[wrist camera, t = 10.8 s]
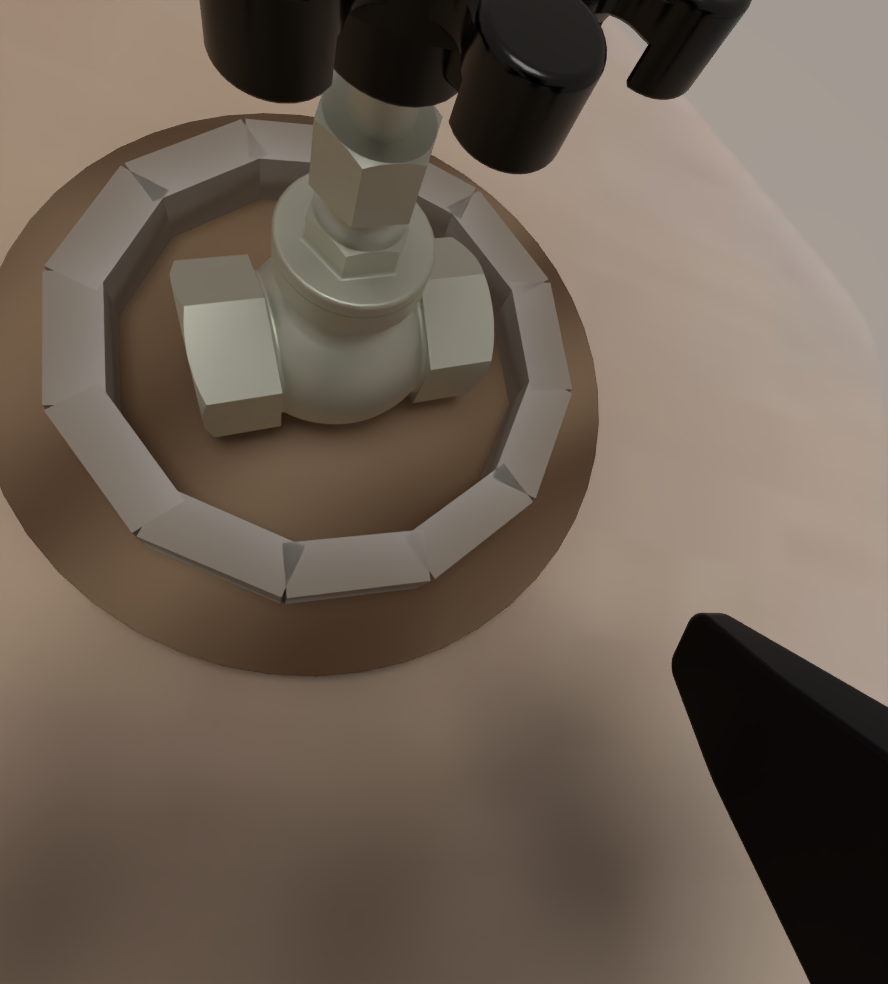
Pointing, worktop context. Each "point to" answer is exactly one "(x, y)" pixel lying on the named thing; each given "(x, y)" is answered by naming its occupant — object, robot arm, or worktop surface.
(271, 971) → the worktop surface
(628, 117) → the worktop surface
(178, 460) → the collar base
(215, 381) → the valve
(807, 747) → the robot arm
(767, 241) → the worktop surface
